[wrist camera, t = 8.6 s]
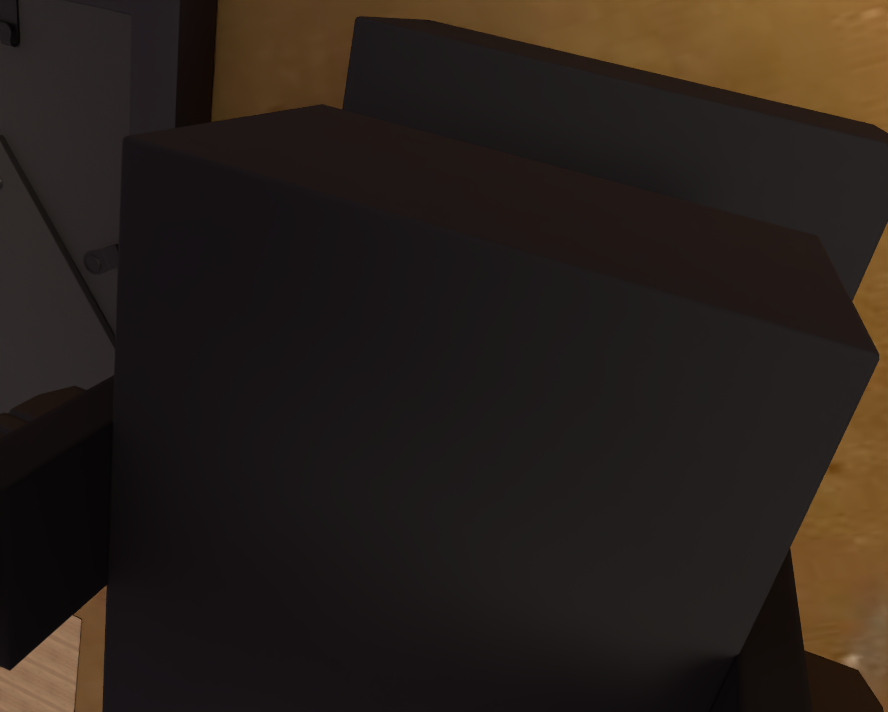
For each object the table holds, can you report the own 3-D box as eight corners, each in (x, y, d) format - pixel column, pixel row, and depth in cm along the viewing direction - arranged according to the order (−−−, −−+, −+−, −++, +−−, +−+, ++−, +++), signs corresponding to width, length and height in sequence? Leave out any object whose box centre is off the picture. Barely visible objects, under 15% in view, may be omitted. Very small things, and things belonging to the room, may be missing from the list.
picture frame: (191, 474, 31) (220, -31, 24) (154, 504, 29) (174, -37, 22) (-87, 374, 34) (-138, -105, 27) (-137, 395, 32) (-207, -117, 25)
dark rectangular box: (427, 19, 22) (354, 15, 18) (876, 125, 20) (920, 150, 16) (359, 394, 27) (290, 463, 23) (713, 515, 25) (711, 618, 21)
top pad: (320, 103, 13) (119, 134, 9) (820, 235, 12) (884, 356, 7) (257, 576, 17) (99, 760, 13) (620, 722, 16) (582, 988, 11)
